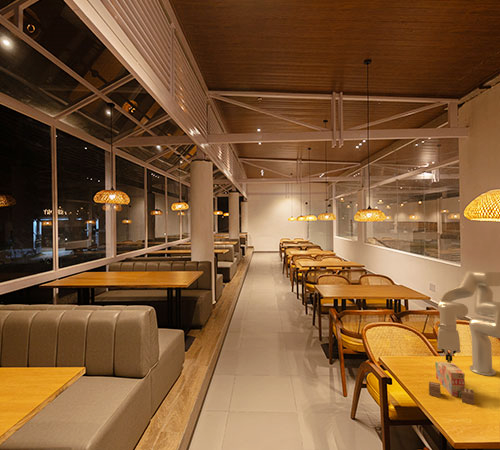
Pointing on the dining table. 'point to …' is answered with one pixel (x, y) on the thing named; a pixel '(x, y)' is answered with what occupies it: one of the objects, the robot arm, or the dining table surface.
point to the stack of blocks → (450, 377)
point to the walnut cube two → (467, 396)
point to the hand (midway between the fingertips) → (449, 361)
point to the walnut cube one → (434, 389)
